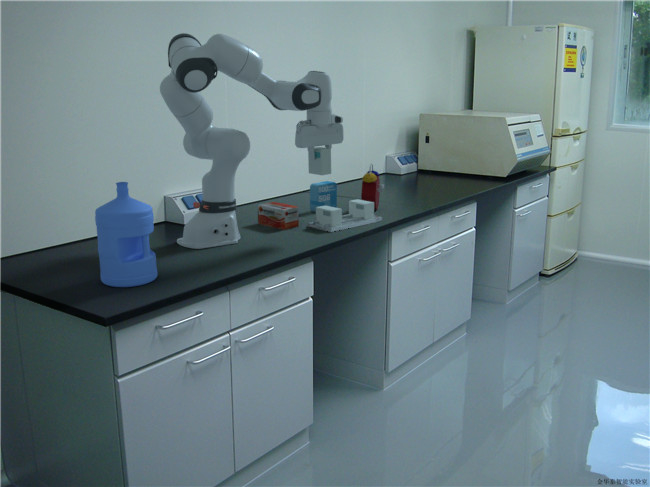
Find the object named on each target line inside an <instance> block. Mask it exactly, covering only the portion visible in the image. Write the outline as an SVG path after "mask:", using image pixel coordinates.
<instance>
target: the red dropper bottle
mask: <svg viewBox="0 0 650 487" xmlns="http://www.w3.org/2000/svg"><path fill="white" fill-rule="evenodd" d="M380 176H381V175H380V174H379V172H378V171H377V170H374V164H372V163H370V165H369V170H368V171H367V172H366V173H365V174H364V175H363V177H361V180H362V184H361V196H360V197H361V199H360V200H364V201H369V202H374V211H378V209H379V205H380V195H381V193H382V192H383V190H382V189H384V188H385V183H382V184H381V183H380Z"/></svg>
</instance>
